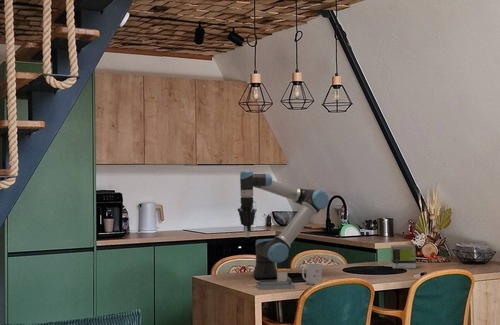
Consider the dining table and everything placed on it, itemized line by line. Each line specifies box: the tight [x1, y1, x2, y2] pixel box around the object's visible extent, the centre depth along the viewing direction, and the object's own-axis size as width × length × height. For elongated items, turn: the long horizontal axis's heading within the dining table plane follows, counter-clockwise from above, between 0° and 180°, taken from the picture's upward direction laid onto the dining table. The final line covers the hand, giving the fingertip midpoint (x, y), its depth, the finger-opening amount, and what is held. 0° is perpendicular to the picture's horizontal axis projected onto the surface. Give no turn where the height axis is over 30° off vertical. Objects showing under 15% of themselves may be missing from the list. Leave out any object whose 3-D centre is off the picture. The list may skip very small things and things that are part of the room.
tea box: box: [390, 244, 417, 269], centre depth 458 cm, size 15×10×15 cm, turn 84°
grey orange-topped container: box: [276, 268, 288, 282], centre depth 389 cm, size 5×5×8 cm
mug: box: [301, 263, 323, 286], centre depth 397 cm, size 12×9×11 cm
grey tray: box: [255, 276, 296, 291], centre depth 388 cm, size 20×13×5 cm, turn 97°
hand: (247, 237), depth 408 cm, fingers closed
